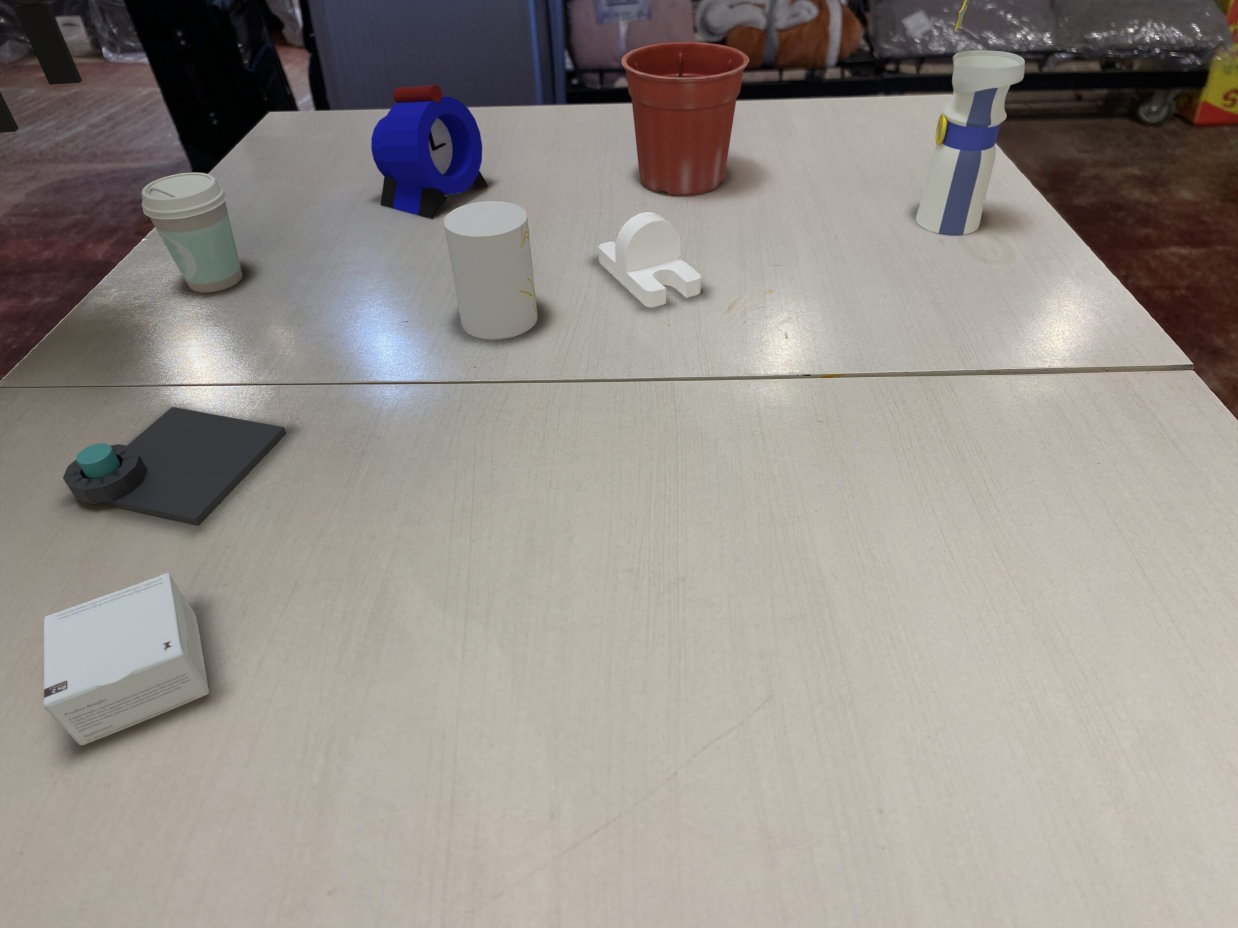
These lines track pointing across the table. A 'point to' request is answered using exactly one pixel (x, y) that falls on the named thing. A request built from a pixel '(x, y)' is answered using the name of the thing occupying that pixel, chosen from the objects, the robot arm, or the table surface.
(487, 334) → the cup
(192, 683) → the small box
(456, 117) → the alarm clock
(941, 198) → the water bottle
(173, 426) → the scale
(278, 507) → the table surface
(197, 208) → the coffee cup
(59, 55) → the robot arm
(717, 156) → the flower pot
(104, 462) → the button
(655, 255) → the slotted bracket
